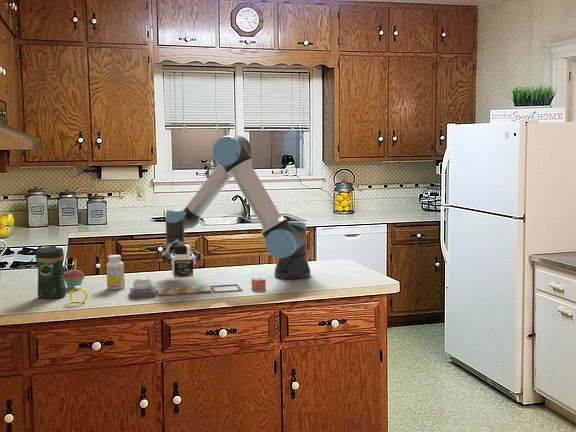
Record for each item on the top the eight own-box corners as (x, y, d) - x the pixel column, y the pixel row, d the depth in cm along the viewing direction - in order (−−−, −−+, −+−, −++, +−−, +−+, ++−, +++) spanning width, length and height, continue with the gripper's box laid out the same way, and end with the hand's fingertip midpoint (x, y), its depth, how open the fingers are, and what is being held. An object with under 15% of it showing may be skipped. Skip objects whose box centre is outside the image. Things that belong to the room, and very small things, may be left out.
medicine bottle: (174, 278, 247) (173, 246, 246) (172, 274, 254) (171, 243, 253) (193, 277, 249) (192, 245, 248) (190, 273, 256) (190, 242, 255)
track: (207, 287, 260) (207, 285, 259) (211, 292, 250) (211, 290, 250) (156, 290, 254) (156, 288, 254) (158, 296, 245) (158, 294, 245)
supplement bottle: (115, 285, 264) (114, 253, 262) (128, 287, 261) (127, 254, 259) (103, 289, 258) (102, 256, 256) (116, 290, 255) (115, 257, 253)
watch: (88, 302, 238) (88, 286, 237) (85, 304, 235) (86, 287, 235) (71, 301, 238) (72, 285, 238) (68, 303, 236) (69, 286, 235)
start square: (237, 285, 263) (237, 284, 263) (242, 290, 253) (242, 289, 253) (210, 286, 260) (210, 285, 260) (214, 292, 250) (214, 291, 250)
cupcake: (89, 286, 262) (88, 256, 261) (72, 290, 255) (71, 260, 254) (74, 284, 267) (73, 254, 265) (57, 288, 260) (56, 258, 258)
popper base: (154, 291, 253) (154, 285, 253) (155, 296, 244) (155, 290, 244) (130, 293, 251) (129, 287, 250) (130, 298, 242) (130, 292, 242)
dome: (151, 285, 251) (150, 276, 251) (152, 289, 245) (151, 280, 244) (133, 286, 249) (132, 277, 249) (133, 290, 243) (133, 281, 243)
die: (261, 287, 258) (260, 277, 258) (265, 289, 255) (265, 279, 254) (251, 288, 256) (251, 278, 256) (256, 290, 253) (256, 280, 252)
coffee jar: (69, 294, 249) (67, 245, 247) (59, 299, 241) (57, 249, 239) (44, 294, 250) (42, 245, 248) (34, 299, 242) (31, 248, 240)
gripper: (152, 242, 265) (156, 252, 243) (202, 240, 270) (210, 249, 248) (152, 261, 266) (156, 272, 244) (202, 258, 271) (211, 269, 249)
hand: (183, 261), depth 246 cm, fingers closed on medicine bottle, 7 cm apart
